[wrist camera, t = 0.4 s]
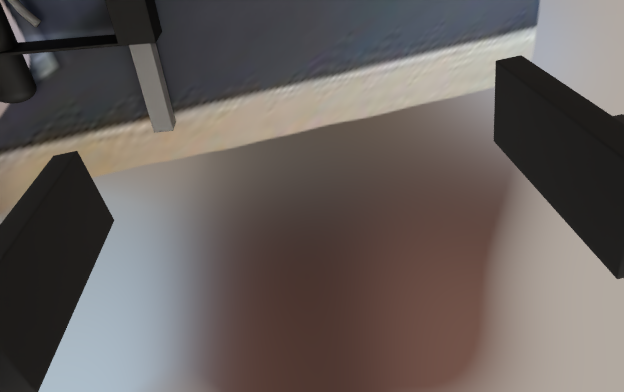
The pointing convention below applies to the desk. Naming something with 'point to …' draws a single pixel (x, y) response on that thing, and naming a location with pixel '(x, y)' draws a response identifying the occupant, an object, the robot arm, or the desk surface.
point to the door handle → (128, 31)
